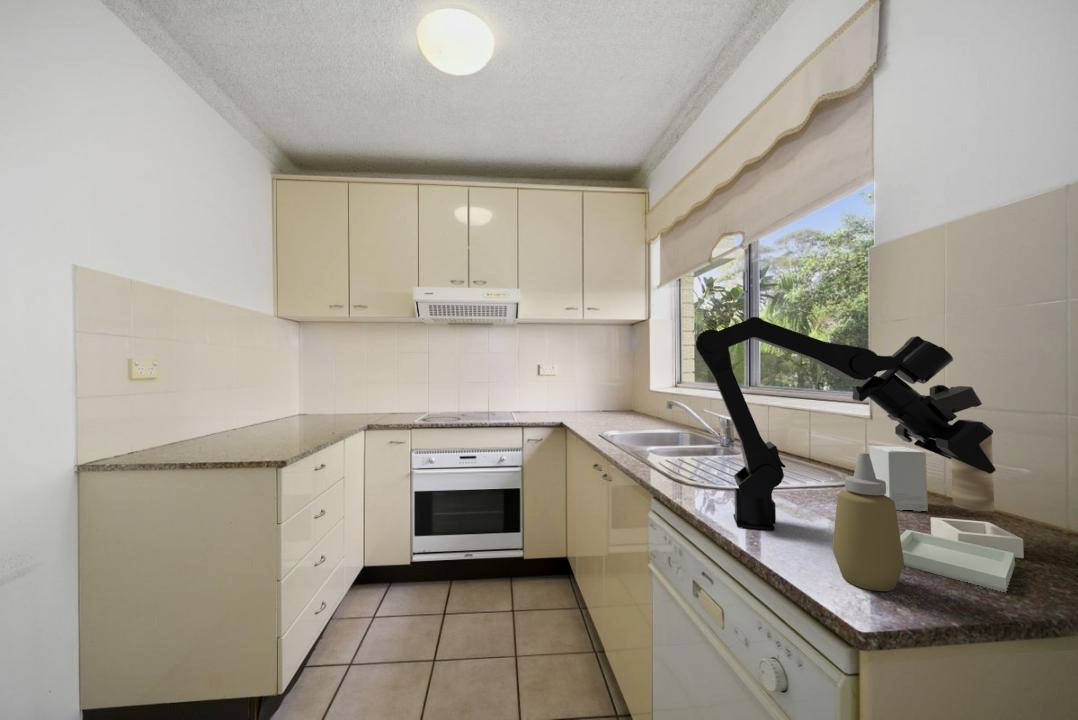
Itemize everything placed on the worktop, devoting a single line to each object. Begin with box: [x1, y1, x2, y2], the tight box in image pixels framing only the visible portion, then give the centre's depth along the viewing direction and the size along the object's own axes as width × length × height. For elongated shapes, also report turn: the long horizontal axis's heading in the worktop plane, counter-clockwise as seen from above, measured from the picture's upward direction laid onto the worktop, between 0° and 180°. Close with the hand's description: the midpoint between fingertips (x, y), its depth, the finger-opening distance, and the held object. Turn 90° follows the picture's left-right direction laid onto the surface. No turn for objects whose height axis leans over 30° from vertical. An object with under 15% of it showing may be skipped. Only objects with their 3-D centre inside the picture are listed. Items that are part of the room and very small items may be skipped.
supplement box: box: [869, 445, 929, 512], centre depth 95 cm, size 7×7×13 cm
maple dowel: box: [950, 434, 995, 512], centre depth 73 cm, size 5×5×13 cm
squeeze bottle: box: [832, 452, 905, 592], centre depth 61 cm, size 8×8×18 cm
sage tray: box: [900, 529, 1016, 594], centre depth 66 cm, size 13×13×2 cm
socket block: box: [930, 516, 1025, 559], centre depth 73 cm, size 8×8×3 cm
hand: (982, 468), depth 73 cm, fingers closed on maple dowel, 5 cm apart
